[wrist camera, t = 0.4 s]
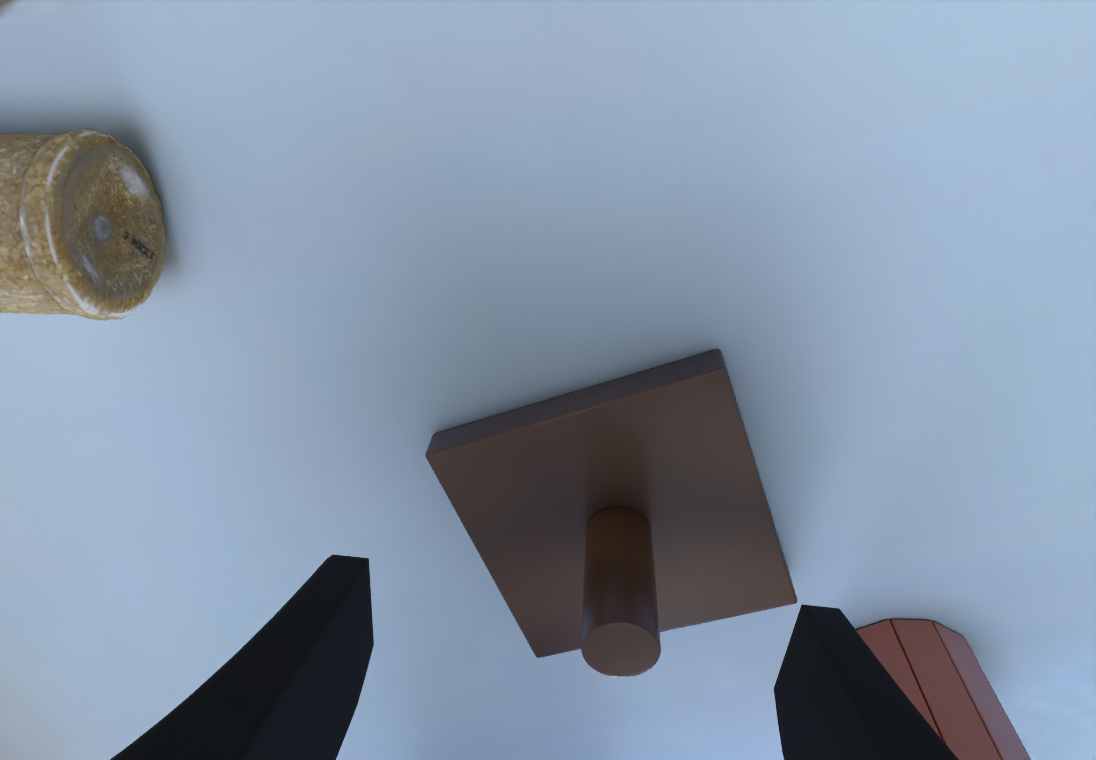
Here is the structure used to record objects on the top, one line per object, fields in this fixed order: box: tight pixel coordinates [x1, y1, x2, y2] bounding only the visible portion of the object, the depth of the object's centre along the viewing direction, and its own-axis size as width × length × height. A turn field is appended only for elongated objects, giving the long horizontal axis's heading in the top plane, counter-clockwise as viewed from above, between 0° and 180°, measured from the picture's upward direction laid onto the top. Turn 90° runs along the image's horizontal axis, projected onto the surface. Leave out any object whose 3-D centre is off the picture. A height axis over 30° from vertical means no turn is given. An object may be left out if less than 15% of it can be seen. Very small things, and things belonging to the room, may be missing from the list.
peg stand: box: [426, 349, 797, 677], centre depth 21 cm, size 9×9×6 cm
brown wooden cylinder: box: [856, 619, 1031, 760], centre depth 23 cm, size 5×5×6 cm
